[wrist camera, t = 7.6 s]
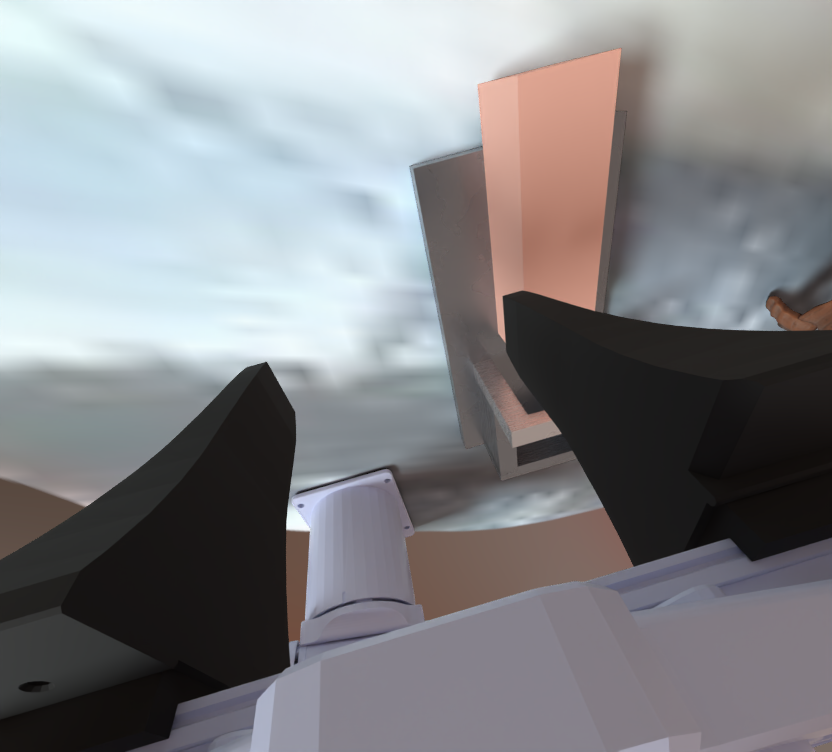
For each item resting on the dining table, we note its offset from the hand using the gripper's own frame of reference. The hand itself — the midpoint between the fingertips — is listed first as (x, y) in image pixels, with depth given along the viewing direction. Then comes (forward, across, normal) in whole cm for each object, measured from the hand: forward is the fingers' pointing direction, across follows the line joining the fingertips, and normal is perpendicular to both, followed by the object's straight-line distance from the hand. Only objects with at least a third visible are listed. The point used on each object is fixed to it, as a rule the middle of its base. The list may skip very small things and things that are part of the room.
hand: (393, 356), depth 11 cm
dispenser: (+10, -8, +6) cm, 14 cm away
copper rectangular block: (+9, -8, 0) cm, 12 cm away
